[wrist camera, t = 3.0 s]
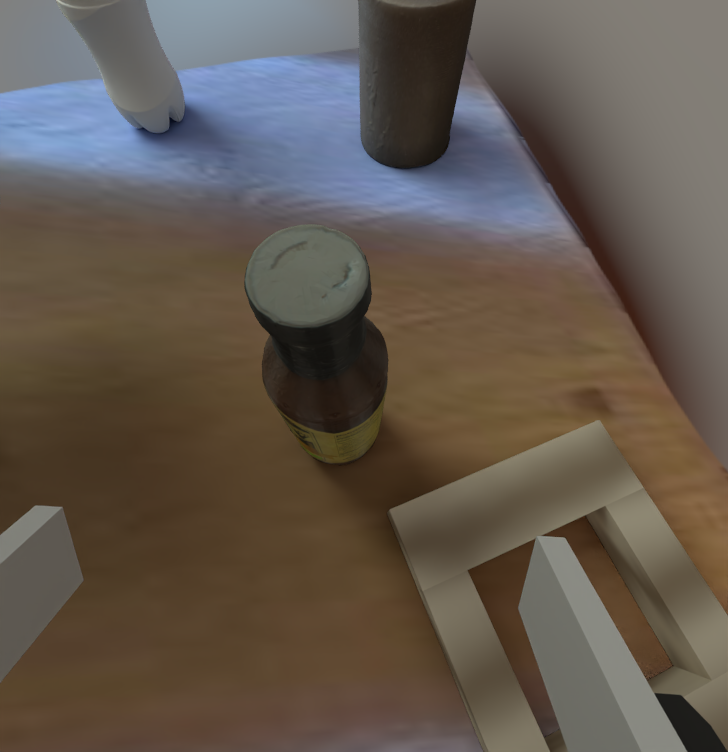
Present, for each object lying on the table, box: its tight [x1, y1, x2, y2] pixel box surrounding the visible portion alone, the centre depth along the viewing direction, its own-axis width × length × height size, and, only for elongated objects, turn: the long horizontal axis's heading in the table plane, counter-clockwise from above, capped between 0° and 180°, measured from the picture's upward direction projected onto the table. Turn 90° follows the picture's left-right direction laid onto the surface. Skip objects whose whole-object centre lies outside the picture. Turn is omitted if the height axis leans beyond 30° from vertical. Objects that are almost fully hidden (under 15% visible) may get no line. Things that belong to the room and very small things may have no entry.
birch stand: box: [387, 420, 728, 752], centre depth 25 cm, size 20×16×3 cm
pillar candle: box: [358, 0, 476, 168], centre depth 37 cm, size 10×10×15 cm
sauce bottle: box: [245, 224, 388, 465], centre depth 22 cm, size 6×6×20 cm
